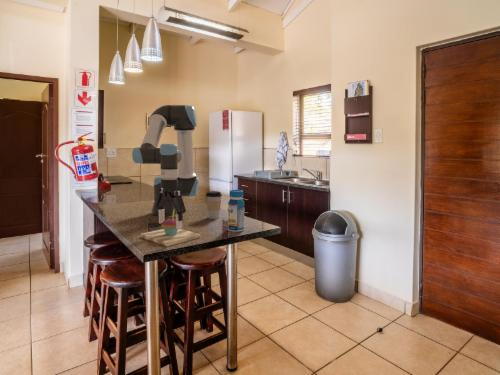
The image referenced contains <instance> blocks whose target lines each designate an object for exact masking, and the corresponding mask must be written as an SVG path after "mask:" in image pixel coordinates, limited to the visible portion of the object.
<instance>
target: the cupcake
mask: <svg viewBox="0 0 500 375" xmlns="http://www.w3.org/2000/svg"><path fill="white" fill-rule="evenodd" d="M174 211H175V210H174V209H173V215H171V216H172V218H167V219H166V220H165V221H163V222H162V223H161V224H160V225H161V226H160V227H161V229H164V231H165V233H166V235H169V236H171V235H176V234H177V230H178V229H177V228H176V218H174V217H175V214H174Z"/></svg>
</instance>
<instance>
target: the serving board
mask: <svg viewBox="0 0 500 375" xmlns="http://www.w3.org/2000/svg"><path fill="white" fill-rule="evenodd" d="M140 238H141V239H145V240H147V241H151V242H153V243H157V244H159V245H162V246H165V247H170V246H174V245H178V244H181V243H185V242H189V241H192V240H196V239H200V238H201V233H197V232H194V231H190V230H186V229H182V228H178V230H177V234H176V235H171V236H169V235H166V233H165V231H164V229H163V228H161V229H158V230H152V231H148V232H142V233H140Z"/></svg>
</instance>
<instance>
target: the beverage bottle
mask: <svg viewBox="0 0 500 375" xmlns="http://www.w3.org/2000/svg"><path fill="white" fill-rule="evenodd" d="M243 197H244V190H242V189H230V190H229V198H230V199H229V200H228V203H227V205H228V208H227V218H228V219H227V223H228V224H227V230H228V231H229V232H234V233H235V232H238V233H239V232H240V233H241V232H242V231H244V230H245V212H246V210H245V209H246V208H245V205H246V204H245V201H244V199H243Z"/></svg>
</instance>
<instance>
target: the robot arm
mask: <svg viewBox="0 0 500 375" xmlns="http://www.w3.org/2000/svg"><path fill="white" fill-rule="evenodd" d="M197 126H198V118H197V111H196V109H195V107H194V105H188V104H165V105H162V106H160V107H157V108H156V109H155V110H154V111H153V112H152V113H151V114H150V116H149V118H148V126H147V129H146V131H145V135H144V137H143V139H142V143H141V144H140V147H139V146H137V147H134V148H133V149H132V150H131V153H132V155H131V156H132V161H133V163H134V164H140V165H141V164H142V165H145V164H146V165H151V164H152V165H154V164H155V165H156V164H157V165H159V166H160V176H156V177H155V178H154V179H153V198H154V199H153V205H152V207H151V215H153V216H156V217H157V216H158V224H160V225H162V222H163V221H165V217H167V216H173V209H174V210H175V211H174V215H175V219H176V228H177V229H178V228H180V229H182V228H183V217H184V216H183V214H184V213H187V210H186V206H185V203H184V199H183V198H184V197H185V198H187V197H188V198H191V197H196V196H197V194H198V190H199V183H200V178H199V177H197V173H195V172H194V152H193V150H194V149H193V145H194V144H193V132H194V131H195V128H196V127H197ZM166 127H173V130H174V131H175V132H176V137H177V138H176V140H177V143H176V144H175V143H161V144H160V146H159V143H160V140H161V137H162V134H163V131H164V130H165V128H166Z"/></svg>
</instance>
